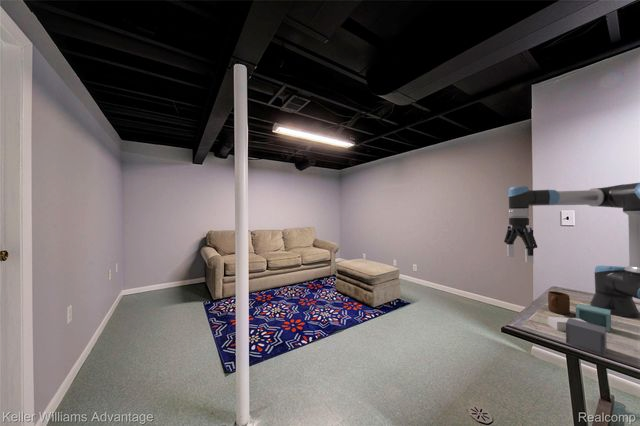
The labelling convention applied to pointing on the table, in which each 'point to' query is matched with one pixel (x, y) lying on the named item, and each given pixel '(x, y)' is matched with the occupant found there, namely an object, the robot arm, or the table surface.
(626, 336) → the table surface
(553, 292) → the mug
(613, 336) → the table surface
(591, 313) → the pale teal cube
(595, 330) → the charcoal cap
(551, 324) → the slat
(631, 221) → the robot arm
